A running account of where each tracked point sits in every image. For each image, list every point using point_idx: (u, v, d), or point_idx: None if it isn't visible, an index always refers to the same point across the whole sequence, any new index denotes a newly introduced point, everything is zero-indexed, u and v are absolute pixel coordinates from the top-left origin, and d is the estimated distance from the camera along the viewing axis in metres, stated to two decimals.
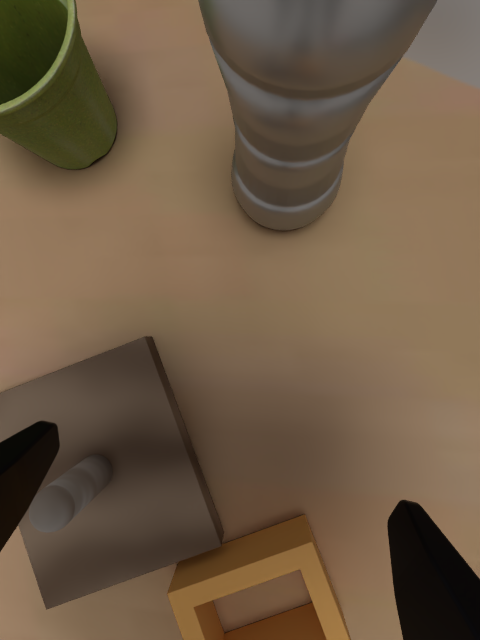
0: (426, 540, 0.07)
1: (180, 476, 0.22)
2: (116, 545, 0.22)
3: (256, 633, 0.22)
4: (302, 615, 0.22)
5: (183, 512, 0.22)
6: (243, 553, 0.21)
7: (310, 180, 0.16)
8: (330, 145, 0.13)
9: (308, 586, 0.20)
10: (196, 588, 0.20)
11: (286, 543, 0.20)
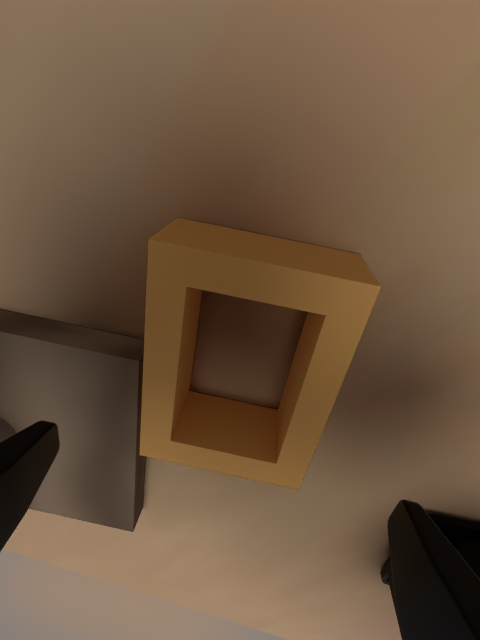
0: (426, 540, 0.07)
1: (23, 354, 0.14)
2: (90, 455, 0.17)
3: (289, 383, 0.14)
4: (310, 315, 0.13)
5: (74, 377, 0.14)
6: None
7: None
8: None
9: (221, 290, 0.10)
10: (147, 425, 0.13)
11: None
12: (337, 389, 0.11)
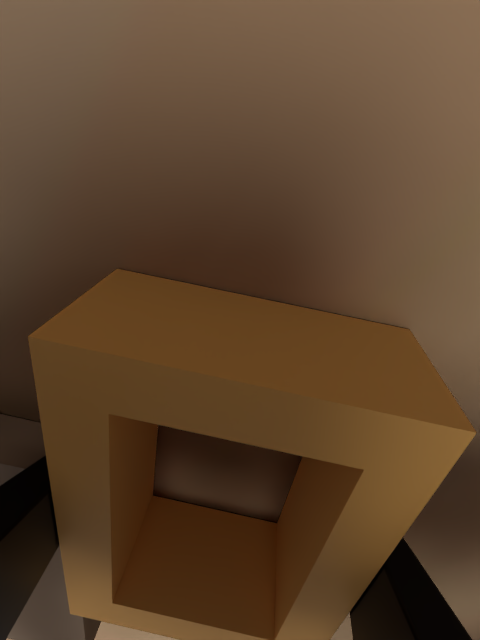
0: None
1: None
2: None
3: (294, 506, 0.09)
4: None
5: None
6: None
7: None
8: None
9: (172, 423, 0.05)
10: (75, 584, 0.08)
11: None
12: (376, 567, 0.07)
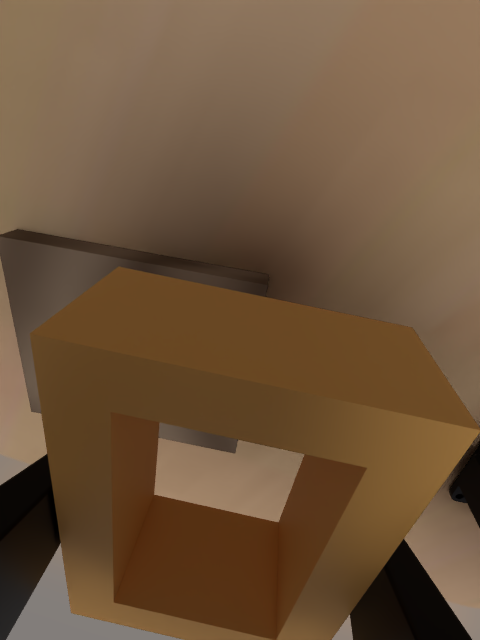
0: None
1: None
2: None
3: (296, 505, 0.09)
4: None
5: None
6: None
7: None
8: None
9: (174, 420, 0.05)
10: (76, 583, 0.08)
11: None
12: (379, 566, 0.07)
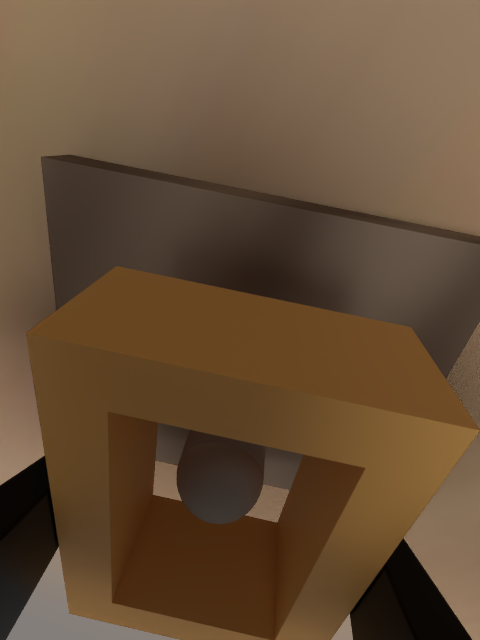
0: None
1: (339, 249, 0.10)
2: None
3: (295, 505, 0.09)
4: None
5: (402, 282, 0.10)
6: None
7: None
8: None
9: (171, 420, 0.05)
10: (75, 583, 0.08)
11: None
12: (378, 566, 0.07)
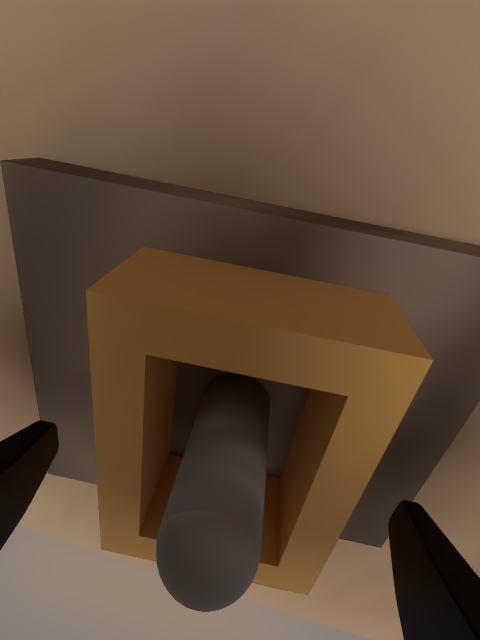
0: (427, 540, 0.07)
1: (350, 269, 0.09)
2: None
3: (294, 455, 0.11)
4: None
5: (424, 307, 0.09)
6: None
7: None
8: None
9: (196, 360, 0.07)
10: (108, 517, 0.10)
11: None
12: (362, 487, 0.08)
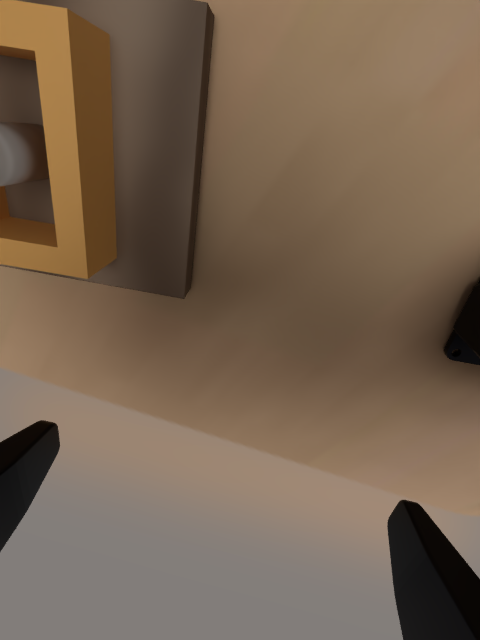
0: (426, 540, 0.07)
1: (78, 14, 0.13)
2: (144, 177, 0.15)
3: None
4: None
5: (133, 43, 0.13)
6: None
7: None
8: None
9: None
10: None
11: None
12: (75, 143, 0.12)
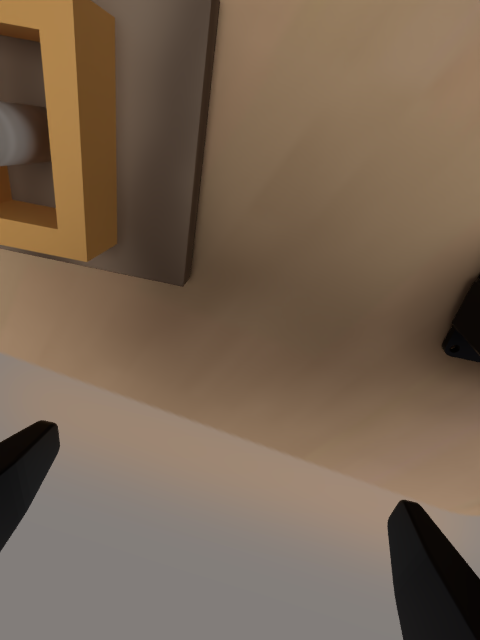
0: (426, 540, 0.07)
1: None
2: (146, 162, 0.15)
3: None
4: None
5: (138, 26, 0.13)
6: None
7: None
8: None
9: None
10: None
11: None
12: (77, 123, 0.12)
